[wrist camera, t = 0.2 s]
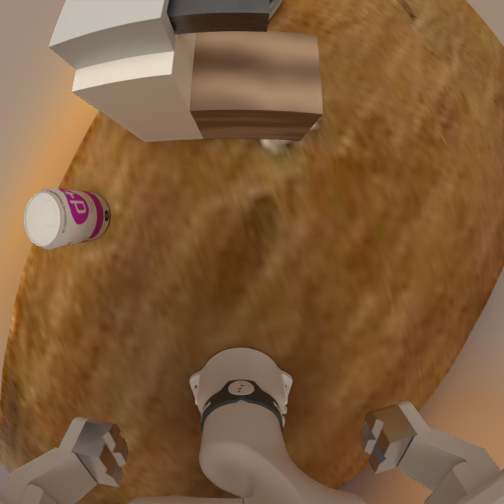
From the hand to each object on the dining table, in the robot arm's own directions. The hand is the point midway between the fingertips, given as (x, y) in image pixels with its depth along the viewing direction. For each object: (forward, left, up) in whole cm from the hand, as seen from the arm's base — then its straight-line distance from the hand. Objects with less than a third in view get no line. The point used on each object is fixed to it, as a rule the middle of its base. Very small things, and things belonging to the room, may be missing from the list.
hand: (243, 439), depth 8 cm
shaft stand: (+25, +11, -40) cm, 48 cm away
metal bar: (+25, +8, -16) cm, 30 cm away
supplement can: (+7, +26, -40) cm, 48 cm away
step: (+25, -2, -40) cm, 47 cm away
